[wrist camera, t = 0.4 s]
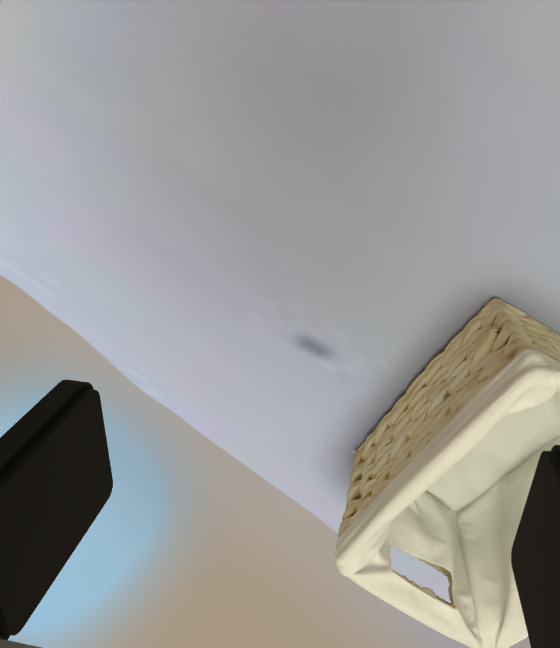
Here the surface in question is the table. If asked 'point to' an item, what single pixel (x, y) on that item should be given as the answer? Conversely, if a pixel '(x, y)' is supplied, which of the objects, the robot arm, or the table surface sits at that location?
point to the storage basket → (457, 477)
